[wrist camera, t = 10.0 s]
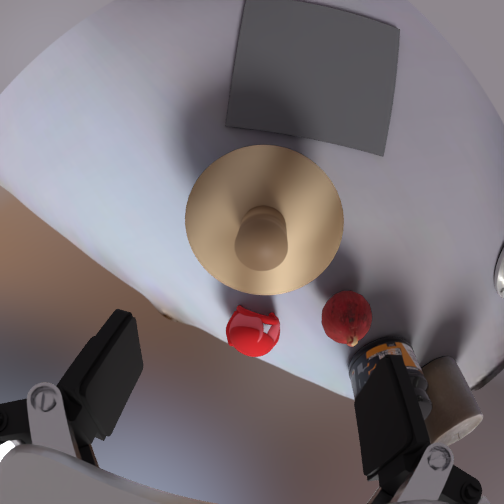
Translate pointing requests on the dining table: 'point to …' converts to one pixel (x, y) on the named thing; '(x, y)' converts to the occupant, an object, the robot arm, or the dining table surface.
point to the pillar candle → (449, 402)
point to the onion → (346, 317)
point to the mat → (314, 74)
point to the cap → (252, 332)
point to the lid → (264, 220)
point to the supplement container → (378, 349)
